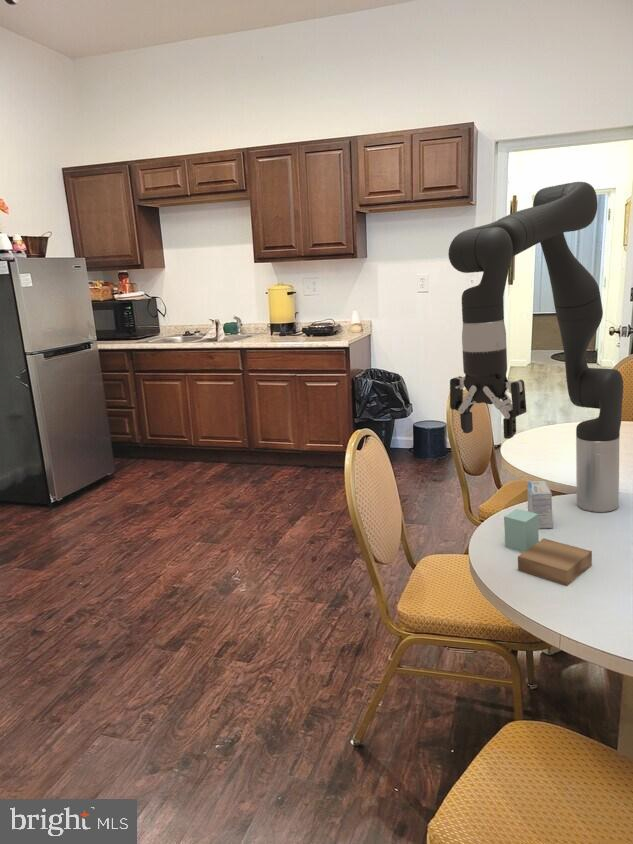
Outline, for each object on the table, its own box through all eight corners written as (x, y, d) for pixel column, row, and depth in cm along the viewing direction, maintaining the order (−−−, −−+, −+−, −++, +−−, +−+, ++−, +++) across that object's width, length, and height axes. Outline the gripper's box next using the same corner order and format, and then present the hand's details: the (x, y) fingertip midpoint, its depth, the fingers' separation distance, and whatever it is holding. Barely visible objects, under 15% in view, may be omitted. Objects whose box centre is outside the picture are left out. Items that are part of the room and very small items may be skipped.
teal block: (517, 538, 134) (516, 508, 132) (538, 544, 130) (538, 514, 128) (505, 546, 131) (504, 516, 129) (526, 553, 127) (525, 521, 125)
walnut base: (543, 551, 127) (543, 538, 126) (591, 565, 119) (591, 551, 118) (518, 570, 120) (517, 556, 120) (567, 585, 113) (566, 571, 112)
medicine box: (553, 529, 136) (552, 492, 134) (532, 529, 137) (531, 493, 135) (547, 515, 144) (546, 480, 142) (527, 515, 145) (526, 481, 143)
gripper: (532, 344, 105) (534, 434, 108) (462, 343, 115) (466, 425, 119) (509, 351, 100) (512, 445, 104) (438, 349, 110) (443, 435, 114)
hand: (487, 434), depth 111 cm, fingers open, 8 cm apart
